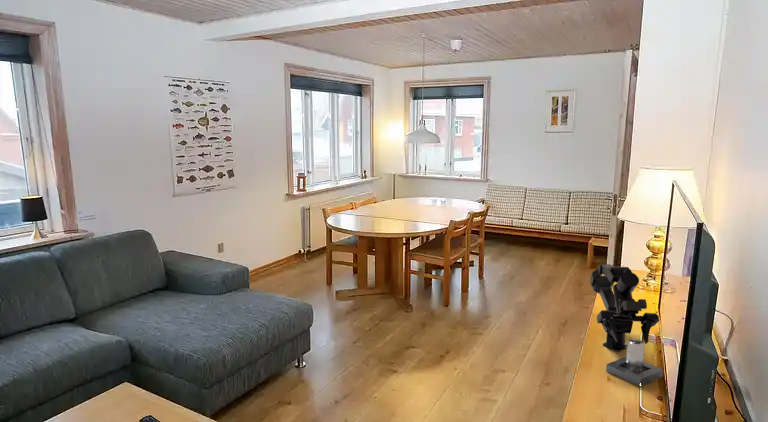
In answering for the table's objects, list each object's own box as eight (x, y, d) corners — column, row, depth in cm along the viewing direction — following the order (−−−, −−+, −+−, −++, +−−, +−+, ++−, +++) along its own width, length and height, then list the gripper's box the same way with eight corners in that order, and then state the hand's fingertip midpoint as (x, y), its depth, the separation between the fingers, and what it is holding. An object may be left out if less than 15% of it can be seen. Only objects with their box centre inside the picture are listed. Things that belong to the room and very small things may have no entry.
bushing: (628, 368, 164) (630, 337, 162) (644, 373, 161) (646, 341, 159) (623, 374, 160) (625, 342, 159) (640, 379, 157) (642, 346, 155)
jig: (628, 362, 168) (629, 355, 168) (662, 376, 158) (663, 369, 158) (606, 371, 163) (606, 364, 162) (639, 387, 152) (640, 379, 152)
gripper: (602, 288, 166) (609, 332, 157) (660, 291, 163) (671, 336, 155) (593, 301, 175) (599, 343, 166) (648, 304, 173) (657, 347, 164)
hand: (631, 342), depth 163 cm, fingers open, 9 cm apart
